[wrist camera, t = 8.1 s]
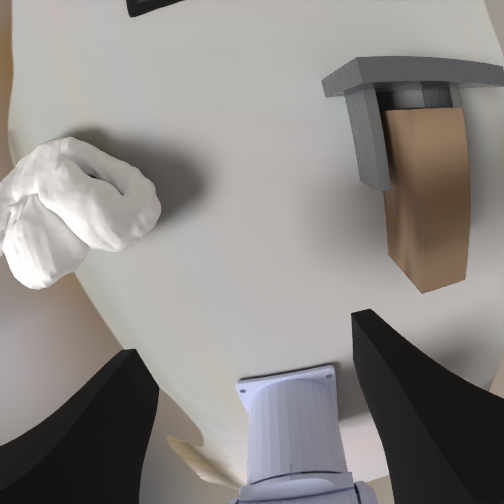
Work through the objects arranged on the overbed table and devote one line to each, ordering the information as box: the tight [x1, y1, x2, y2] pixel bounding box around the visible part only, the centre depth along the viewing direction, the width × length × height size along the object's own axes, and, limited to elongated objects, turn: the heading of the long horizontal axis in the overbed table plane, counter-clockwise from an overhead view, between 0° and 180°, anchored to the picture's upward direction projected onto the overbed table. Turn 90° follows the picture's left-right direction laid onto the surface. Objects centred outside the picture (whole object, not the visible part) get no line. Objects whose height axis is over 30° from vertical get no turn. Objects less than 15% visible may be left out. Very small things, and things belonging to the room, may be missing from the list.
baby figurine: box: [0, 137, 161, 290], centre depth 14 cm, size 9×12×8 cm
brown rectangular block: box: [379, 107, 470, 294], centre depth 14 cm, size 9×3×5 cm, turn 14°
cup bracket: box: [322, 56, 504, 192], centre depth 12 cm, size 6×8×6 cm
